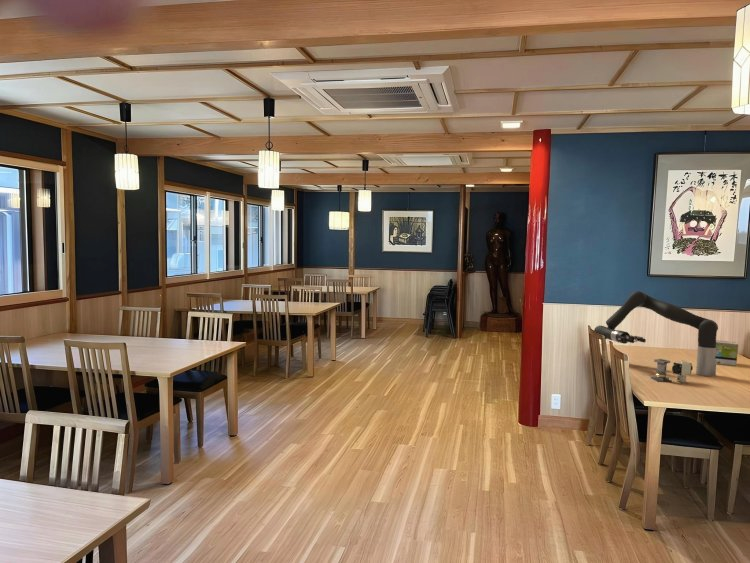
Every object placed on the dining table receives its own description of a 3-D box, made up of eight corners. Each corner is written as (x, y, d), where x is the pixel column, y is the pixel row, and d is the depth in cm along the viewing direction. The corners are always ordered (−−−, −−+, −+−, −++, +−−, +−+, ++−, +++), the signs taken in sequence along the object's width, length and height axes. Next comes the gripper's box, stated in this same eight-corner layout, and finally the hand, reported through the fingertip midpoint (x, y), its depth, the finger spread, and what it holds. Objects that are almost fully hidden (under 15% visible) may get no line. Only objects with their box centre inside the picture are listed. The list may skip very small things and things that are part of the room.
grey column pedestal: (658, 377, 314) (660, 358, 314) (669, 379, 309) (670, 360, 308) (652, 378, 311) (654, 359, 310) (662, 380, 306) (664, 361, 305)
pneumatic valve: (692, 381, 308) (693, 361, 307) (678, 383, 303) (679, 362, 302) (683, 379, 313) (684, 359, 312) (669, 381, 308) (670, 360, 307)
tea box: (710, 363, 359) (711, 341, 357) (707, 360, 368) (708, 339, 367) (736, 366, 353) (738, 343, 352) (733, 363, 362) (734, 341, 361)
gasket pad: (664, 378, 314) (664, 377, 314) (671, 381, 306) (671, 381, 306) (650, 378, 314) (650, 377, 314) (657, 381, 306) (657, 380, 306)
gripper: (611, 331, 340) (630, 335, 325) (629, 330, 344) (649, 334, 329) (610, 342, 341) (629, 347, 325) (629, 342, 345) (648, 346, 329)
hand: (639, 341), depth 327 cm, fingers open, 8 cm apart
